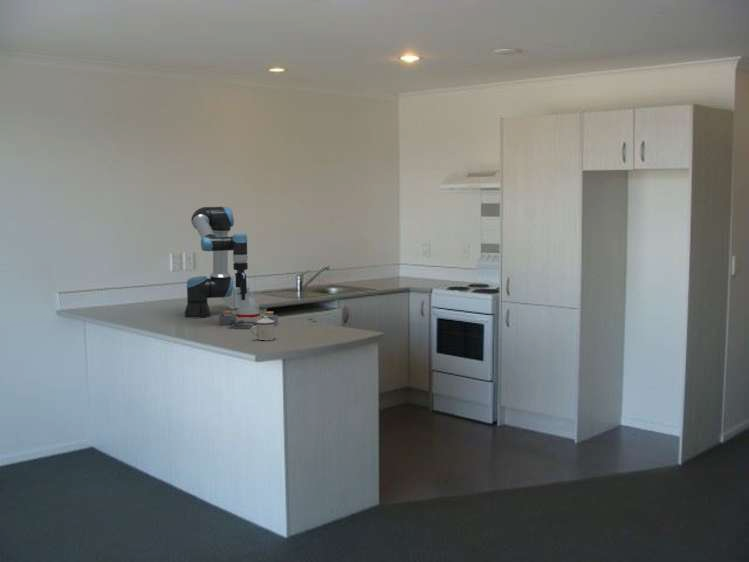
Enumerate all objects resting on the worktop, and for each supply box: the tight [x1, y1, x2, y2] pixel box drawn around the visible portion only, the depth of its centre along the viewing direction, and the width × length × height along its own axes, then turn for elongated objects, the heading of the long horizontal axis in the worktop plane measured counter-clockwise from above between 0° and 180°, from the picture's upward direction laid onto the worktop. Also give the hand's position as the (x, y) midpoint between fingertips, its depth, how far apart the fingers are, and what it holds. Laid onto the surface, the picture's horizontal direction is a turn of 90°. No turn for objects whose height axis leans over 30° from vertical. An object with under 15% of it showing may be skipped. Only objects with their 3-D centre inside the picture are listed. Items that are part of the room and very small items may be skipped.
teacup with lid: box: [250, 315, 276, 341], centre depth 401 cm, size 12×9×12 cm
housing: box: [218, 313, 279, 326], centre depth 449 cm, size 12×31×5 cm, turn 80°
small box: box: [232, 286, 250, 309], centre depth 437 cm, size 8×6×10 cm
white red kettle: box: [235, 291, 261, 318], centre depth 482 cm, size 14×14×15 cm
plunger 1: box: [222, 310, 233, 316], centre depth 451 cm, size 5×5×6 cm
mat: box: [228, 324, 255, 330], centre depth 439 cm, size 9×12×1 cm
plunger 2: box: [264, 310, 275, 317], centre depth 447 cm, size 5×5×6 cm
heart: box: [222, 272, 251, 310], centre depth 510 cm, size 28×16×22 cm, turn 38°
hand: (241, 305), depth 438 cm, fingers closed on small box, 6 cm apart
